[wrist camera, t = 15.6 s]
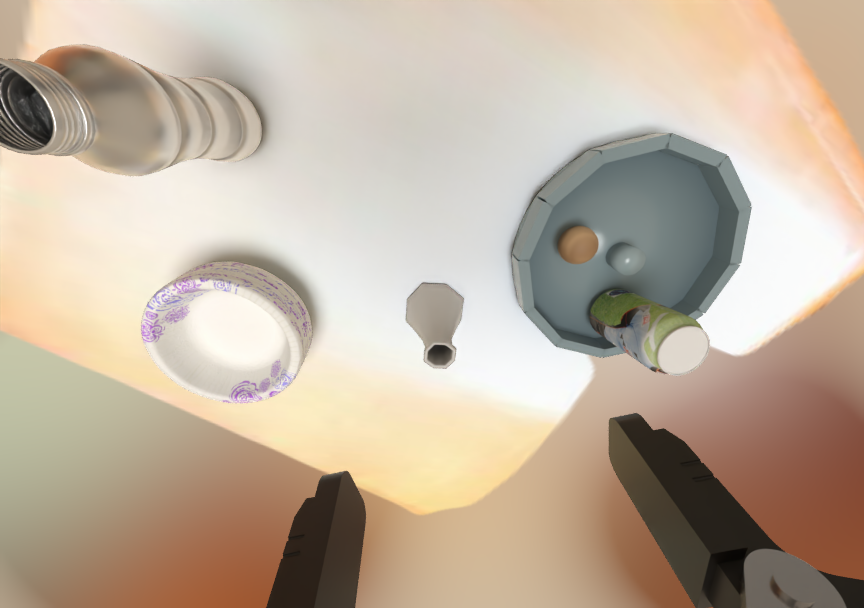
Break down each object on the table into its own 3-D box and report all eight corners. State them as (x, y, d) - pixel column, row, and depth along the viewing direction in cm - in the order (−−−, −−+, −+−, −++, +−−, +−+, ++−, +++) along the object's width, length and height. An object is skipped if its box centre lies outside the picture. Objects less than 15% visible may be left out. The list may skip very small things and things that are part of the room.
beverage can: (578, 327, 43) (633, 391, 32) (597, 273, 40) (665, 324, 29) (625, 331, 44) (694, 395, 33) (647, 278, 40) (732, 330, 30)
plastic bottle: (210, 63, 30) (-90, -42, 12) (282, 116, 32) (115, 91, 14) (184, 129, 32) (-104, 122, 14) (253, 174, 34) (76, 218, 16)
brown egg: (550, 226, 37) (565, 236, 33) (587, 218, 37) (606, 226, 33) (553, 260, 39) (567, 273, 35) (588, 252, 39) (606, 264, 35)
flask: (473, 294, 41) (490, 337, 32) (448, 341, 44) (457, 393, 35) (418, 272, 40) (419, 312, 31) (396, 323, 43) (391, 373, 34)
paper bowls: (275, 382, 46) (250, 428, 39) (163, 316, 41) (110, 354, 34) (345, 307, 41) (331, 343, 34) (229, 222, 36) (184, 243, 29)
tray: (498, 170, 35) (506, 173, 32) (737, 110, 34) (770, 108, 31) (523, 356, 46) (531, 372, 43) (705, 317, 44) (727, 330, 41)
